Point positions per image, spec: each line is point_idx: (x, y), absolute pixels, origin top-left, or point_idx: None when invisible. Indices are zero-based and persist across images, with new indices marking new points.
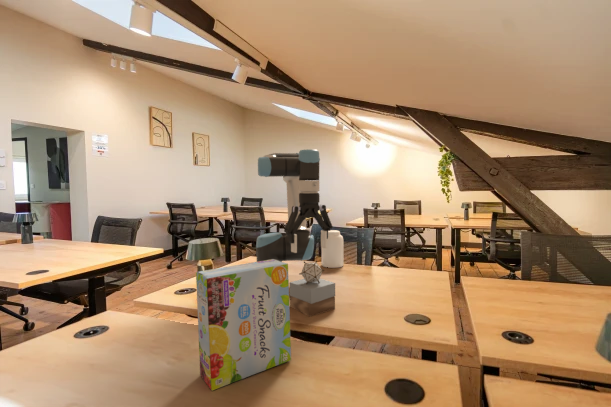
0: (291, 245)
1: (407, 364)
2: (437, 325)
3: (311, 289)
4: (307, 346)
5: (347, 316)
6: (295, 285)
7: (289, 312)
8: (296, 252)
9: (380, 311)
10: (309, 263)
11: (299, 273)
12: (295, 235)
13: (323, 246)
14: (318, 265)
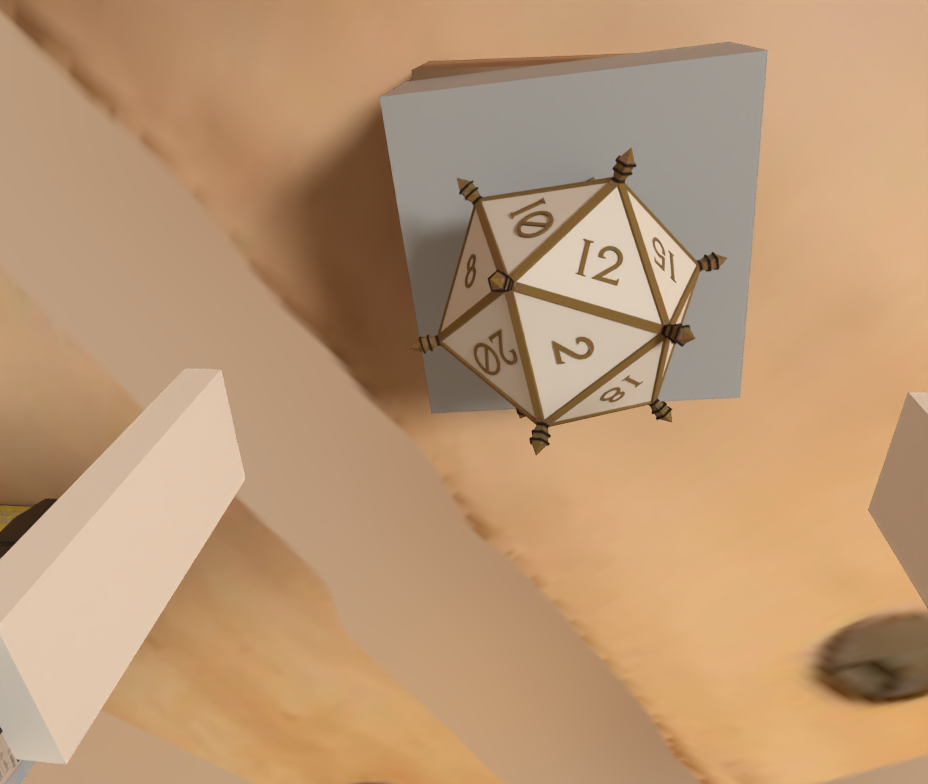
0: (129, 445)
1: (485, 778)
2: (877, 730)
3: (437, 411)
4: (257, 552)
5: (639, 447)
6: (399, 198)
7: (33, 764)
8: (235, 481)
9: (861, 508)
10: (543, 336)
11: (460, 189)
12: (41, 740)
13: (896, 482)
14: (658, 365)
